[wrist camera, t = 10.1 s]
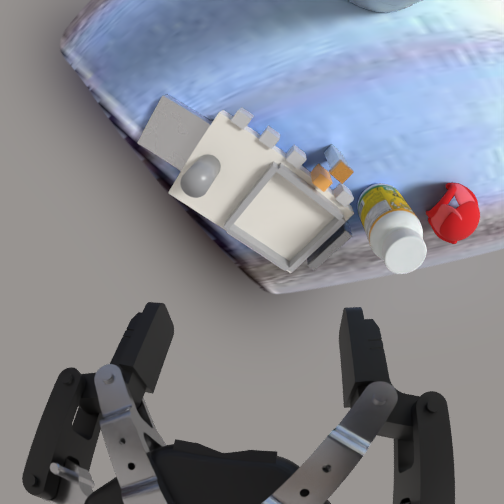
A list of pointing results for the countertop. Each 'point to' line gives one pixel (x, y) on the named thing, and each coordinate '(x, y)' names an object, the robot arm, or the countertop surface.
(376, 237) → the supplement bottle
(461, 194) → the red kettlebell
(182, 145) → the index track
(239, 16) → the countertop surface
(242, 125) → the toothed carriage
